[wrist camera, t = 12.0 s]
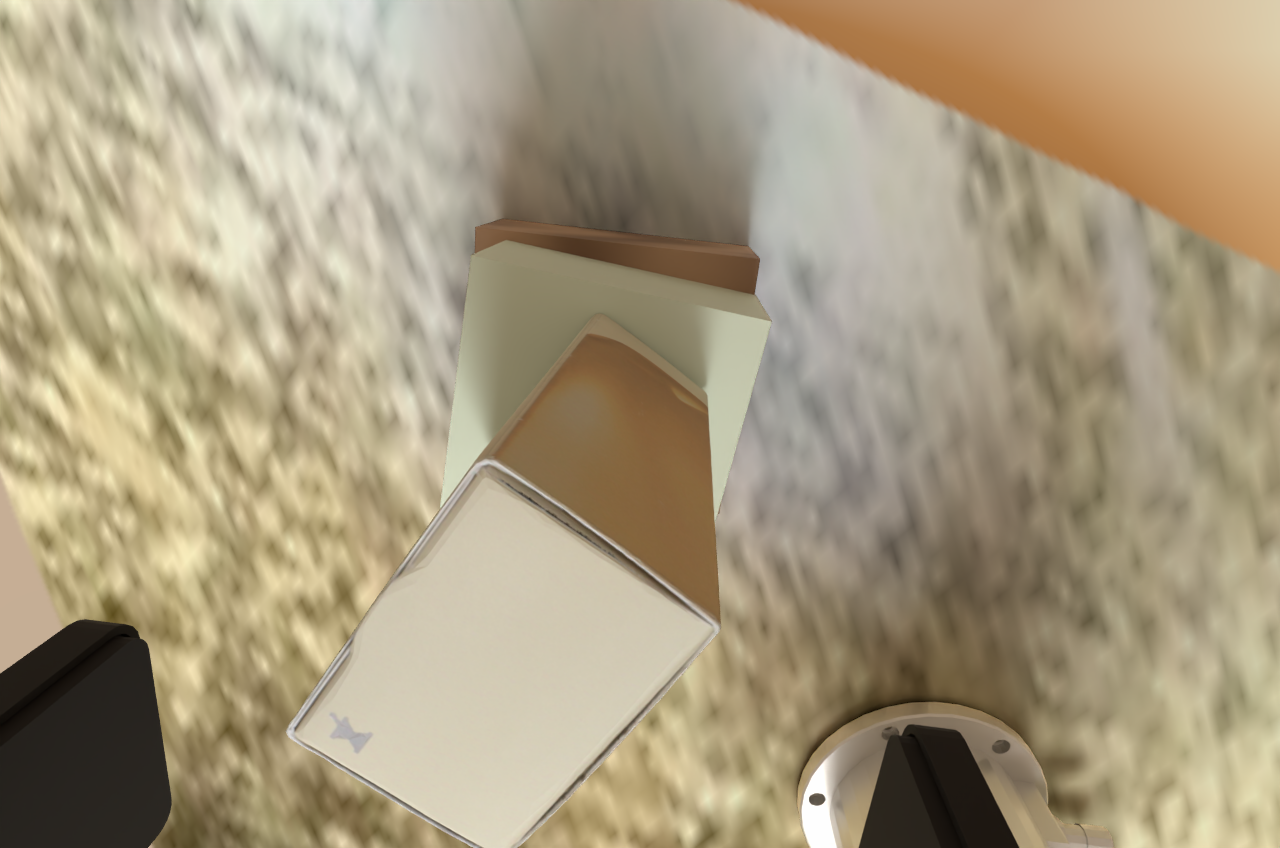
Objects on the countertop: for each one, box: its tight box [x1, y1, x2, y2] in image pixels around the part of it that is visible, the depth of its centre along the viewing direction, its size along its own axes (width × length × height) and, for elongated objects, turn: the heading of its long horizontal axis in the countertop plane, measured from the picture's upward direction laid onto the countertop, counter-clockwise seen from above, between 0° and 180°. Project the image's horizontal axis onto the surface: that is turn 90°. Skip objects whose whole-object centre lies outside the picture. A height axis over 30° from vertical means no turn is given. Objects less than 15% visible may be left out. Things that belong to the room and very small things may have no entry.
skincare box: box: [286, 313, 721, 848], centre depth 16 cm, size 6×4×12 cm
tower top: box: [440, 240, 772, 521], centre depth 24 cm, size 9×9×4 cm
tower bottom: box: [475, 219, 760, 514], centre depth 28 cm, size 10×10×4 cm
